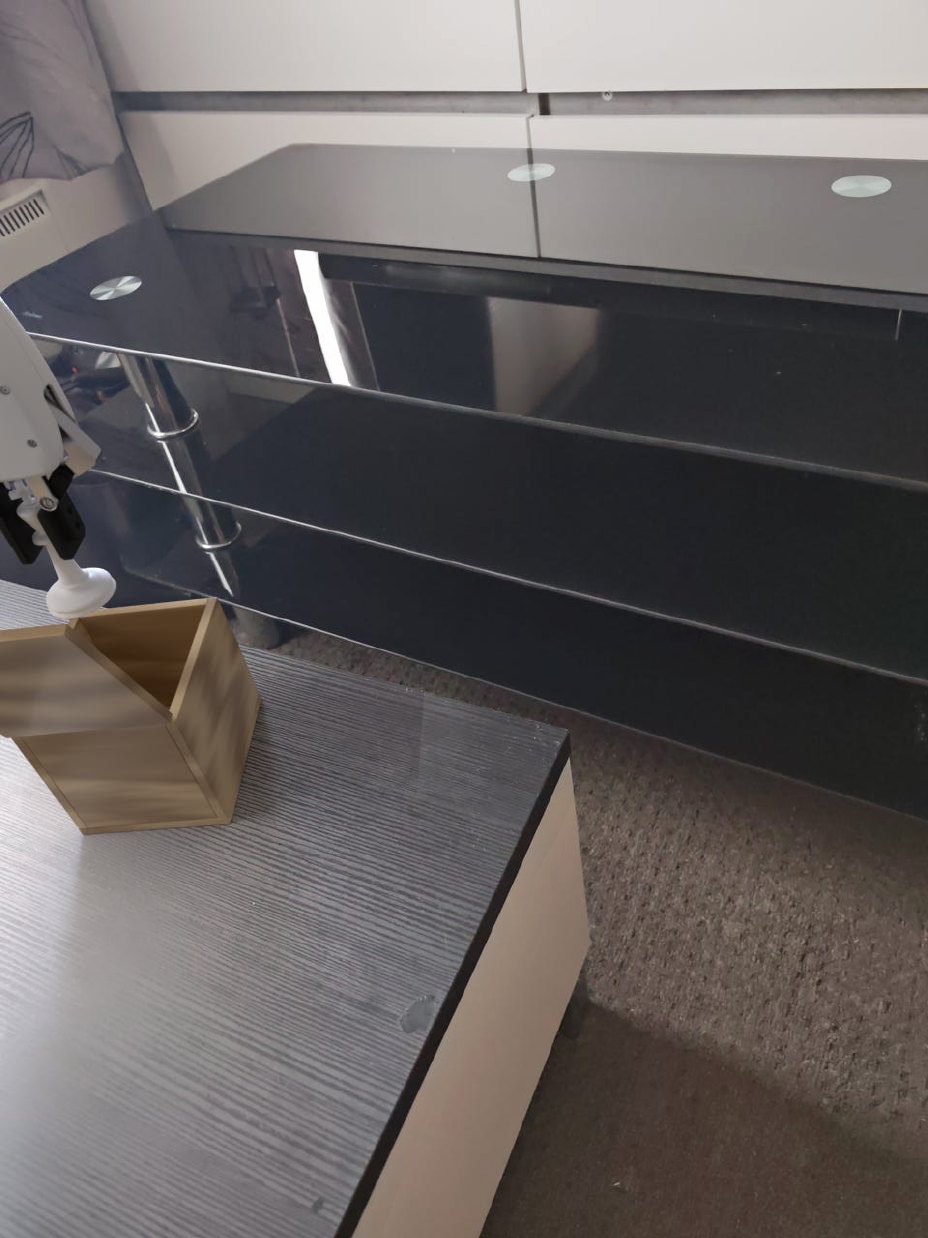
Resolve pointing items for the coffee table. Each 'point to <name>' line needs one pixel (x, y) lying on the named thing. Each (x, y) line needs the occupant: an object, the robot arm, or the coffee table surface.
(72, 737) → the box
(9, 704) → the lid
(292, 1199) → the coffee table surface
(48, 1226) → the coffee table surface
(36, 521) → the chess piece
